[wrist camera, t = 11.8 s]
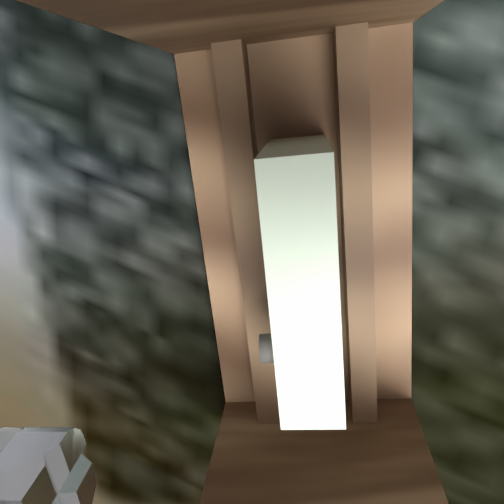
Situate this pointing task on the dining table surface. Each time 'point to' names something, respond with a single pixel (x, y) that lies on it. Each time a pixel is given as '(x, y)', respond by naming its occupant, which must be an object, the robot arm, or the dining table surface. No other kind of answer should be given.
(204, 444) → the dining table surface
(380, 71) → the track frame
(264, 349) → the door panel
